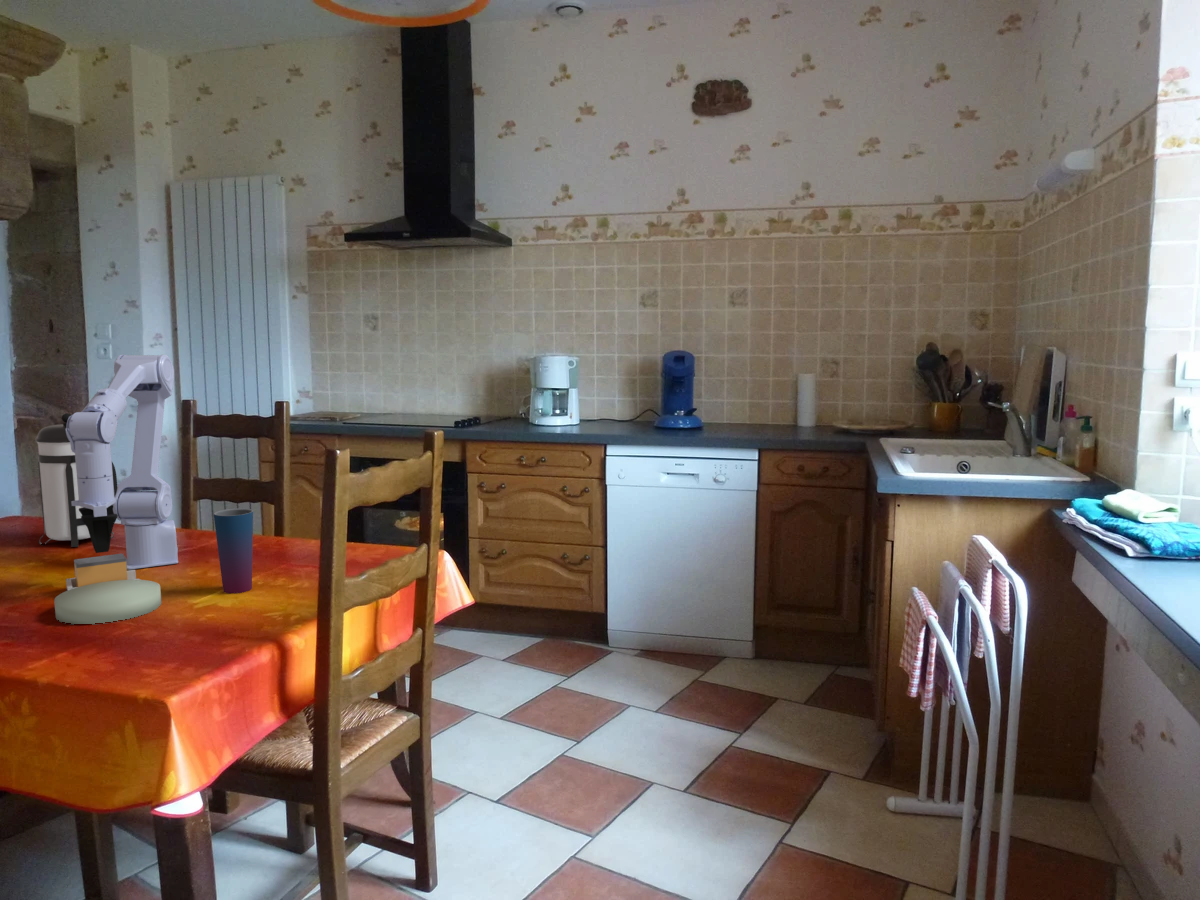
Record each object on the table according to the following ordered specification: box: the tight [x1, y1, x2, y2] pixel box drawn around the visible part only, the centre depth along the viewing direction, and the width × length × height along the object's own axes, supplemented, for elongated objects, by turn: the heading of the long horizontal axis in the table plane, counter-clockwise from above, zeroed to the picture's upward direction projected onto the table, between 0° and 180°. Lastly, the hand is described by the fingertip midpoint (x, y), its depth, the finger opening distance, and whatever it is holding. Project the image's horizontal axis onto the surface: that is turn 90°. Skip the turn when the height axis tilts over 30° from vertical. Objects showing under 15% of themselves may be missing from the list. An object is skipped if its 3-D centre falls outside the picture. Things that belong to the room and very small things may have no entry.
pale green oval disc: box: [54, 569, 162, 625], centre depth 151 cm, size 16×26×3 cm, turn 34°
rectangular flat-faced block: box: [73, 553, 128, 587], centre depth 158 cm, size 8×4×6 cm, turn 127°
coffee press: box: [34, 412, 118, 548], centre depth 193 cm, size 17×16×30 cm
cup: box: [213, 507, 254, 594], centre depth 158 cm, size 7×7×15 cm
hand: (100, 547), depth 157 cm, fingers open, 7 cm apart
